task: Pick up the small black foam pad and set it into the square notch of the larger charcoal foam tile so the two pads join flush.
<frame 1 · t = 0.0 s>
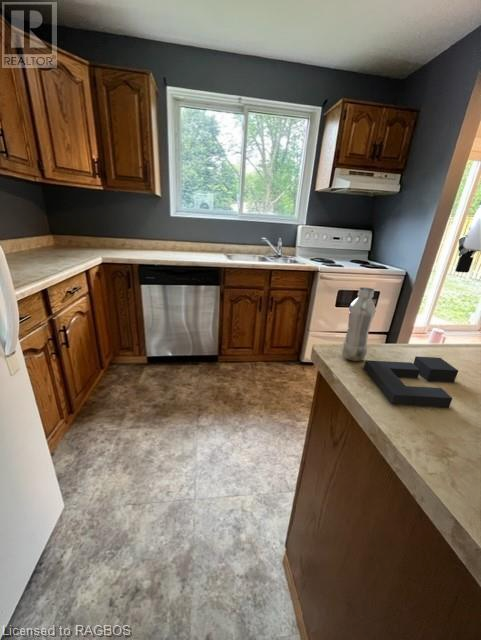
hand: (476, 275, 68), 25 cm above the countertop, tool pointing down, fingers open, 9 cm apart
plastic bottle: (352, 358, 76), on the countertop
black pad: (432, 375, 70), on the countertop
notched tile: (401, 386, 64), on the countertop
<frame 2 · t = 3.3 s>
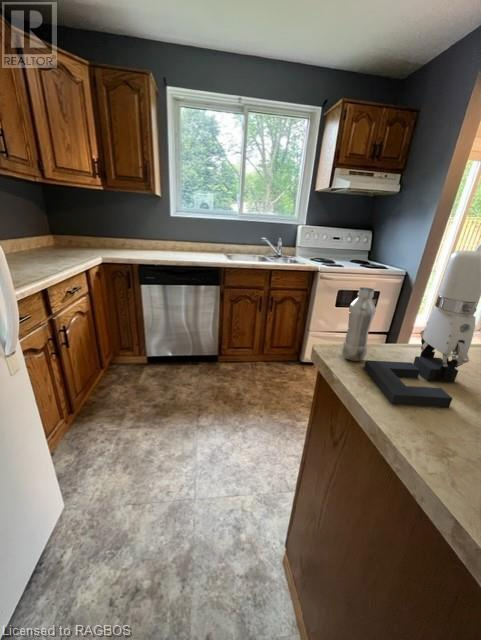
hand: (433, 371, 69), 1 cm above the countertop, tool pointing down, fingers closed on black pad, 6 cm apart
black pad: (432, 375, 70), on the countertop, touching gripper
everything else where it was.
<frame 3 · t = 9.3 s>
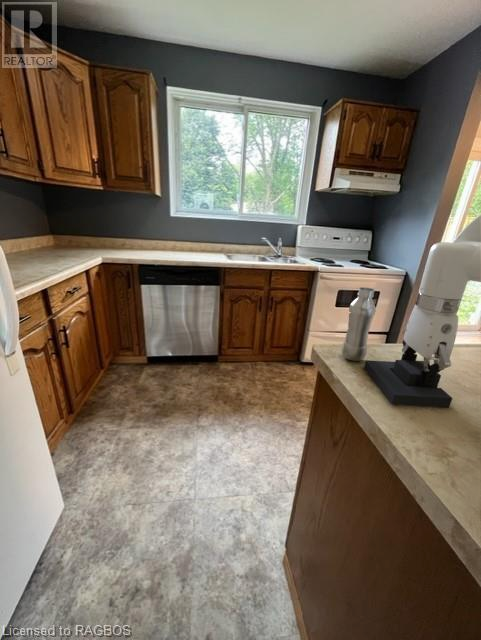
hand: (414, 376, 63), 3 cm above the countertop, tool pointing down, fingers closed on black pad, 6 cm apart
black pad: (413, 380, 63), point 2 cm above the countertop, touching gripper
everything else where it was.
when the fingers open (3 cm above the countertop, at t = 15.9 s): black pad drops 2 cm, on the countertop.
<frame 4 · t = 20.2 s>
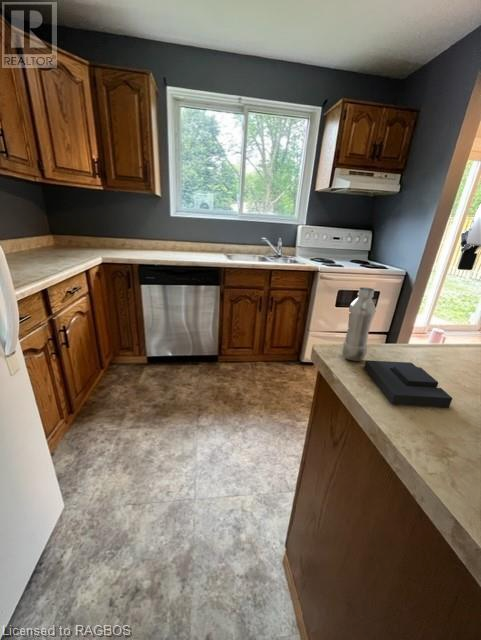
hand: (480, 273, 61), 26 cm above the countertop, tool pointing down, fingers open, 9 cm apart
black pad: (411, 386, 64), on the countertop
everything else where it was.
at the end: black pad 0.1 cm from the target spot on the notched tile, point 0.0 cm above the notched tile's base; black pad tilted 0°; the gripper is holding nothing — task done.
